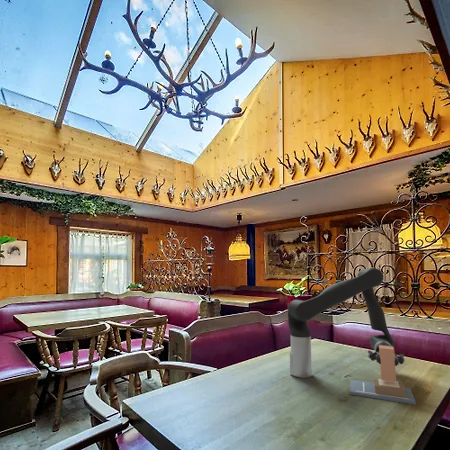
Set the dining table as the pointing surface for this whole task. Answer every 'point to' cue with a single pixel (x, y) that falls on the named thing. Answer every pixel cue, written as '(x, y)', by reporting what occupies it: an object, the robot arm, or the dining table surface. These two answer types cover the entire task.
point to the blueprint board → (371, 390)
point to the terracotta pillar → (387, 363)
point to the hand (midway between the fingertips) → (387, 362)
